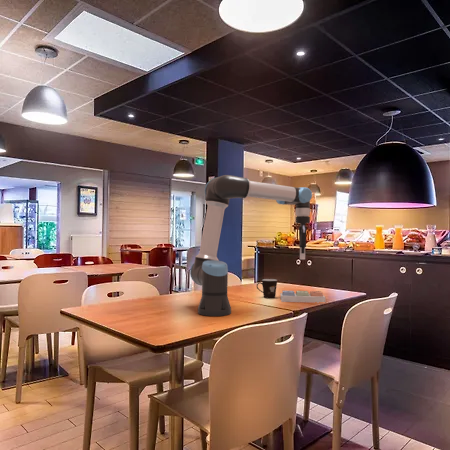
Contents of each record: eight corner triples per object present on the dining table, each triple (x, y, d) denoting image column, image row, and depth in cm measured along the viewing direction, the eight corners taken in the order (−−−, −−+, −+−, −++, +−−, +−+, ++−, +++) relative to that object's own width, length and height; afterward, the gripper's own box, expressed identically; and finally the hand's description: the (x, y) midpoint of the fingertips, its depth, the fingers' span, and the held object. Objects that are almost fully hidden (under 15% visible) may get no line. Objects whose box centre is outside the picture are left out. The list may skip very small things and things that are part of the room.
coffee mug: (276, 296, 224) (277, 279, 224) (277, 299, 215) (277, 281, 215) (256, 296, 225) (256, 278, 225) (256, 298, 216) (256, 280, 216)
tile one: (283, 297, 209) (283, 291, 209) (282, 295, 215) (282, 290, 215) (294, 298, 209) (294, 292, 209) (293, 296, 215) (293, 290, 215)
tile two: (297, 298, 209) (297, 292, 209) (296, 296, 215) (296, 290, 215) (308, 298, 208) (308, 292, 208) (307, 296, 214) (307, 290, 214)
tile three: (311, 298, 208) (311, 292, 208) (309, 296, 214) (309, 290, 214) (322, 298, 208) (322, 292, 208) (320, 296, 214) (321, 290, 214)
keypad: (281, 301, 207) (281, 296, 207) (280, 298, 217) (280, 293, 217) (325, 302, 206) (325, 297, 206) (322, 299, 216) (322, 294, 216)
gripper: (311, 215, 205) (311, 260, 205) (308, 216, 218) (307, 258, 218) (297, 215, 206) (296, 260, 206) (294, 216, 219) (294, 258, 219)
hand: (302, 259), depth 212 cm, fingers closed
